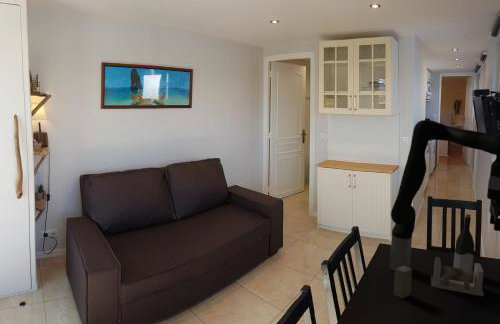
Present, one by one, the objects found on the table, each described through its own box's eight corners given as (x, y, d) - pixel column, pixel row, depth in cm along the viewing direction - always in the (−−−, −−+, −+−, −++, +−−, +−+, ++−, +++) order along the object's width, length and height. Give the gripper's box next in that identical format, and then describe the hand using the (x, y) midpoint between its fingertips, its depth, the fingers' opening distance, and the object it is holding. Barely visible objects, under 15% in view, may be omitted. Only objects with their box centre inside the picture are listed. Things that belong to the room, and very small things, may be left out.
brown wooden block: (442, 278, 161) (442, 269, 161) (441, 273, 166) (442, 265, 165) (473, 283, 156) (474, 275, 156) (471, 278, 161) (472, 270, 160)
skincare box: (402, 299, 151) (404, 272, 149) (392, 294, 155) (394, 268, 153) (410, 295, 154) (412, 268, 153) (401, 290, 158) (403, 264, 156)
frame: (431, 286, 162) (433, 263, 160) (430, 278, 170) (432, 256, 168) (483, 296, 153) (486, 272, 152) (480, 287, 162) (482, 264, 160)
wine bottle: (466, 270, 178) (472, 212, 173) (475, 278, 170) (481, 217, 165) (449, 269, 179) (455, 211, 174) (457, 277, 171) (463, 216, 166)
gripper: (485, 183, 148) (481, 220, 150) (491, 190, 135) (487, 231, 138) (506, 184, 145) (502, 223, 147) (515, 192, 132) (510, 234, 135)
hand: (494, 227), depth 142 cm, fingers open, 8 cm apart
